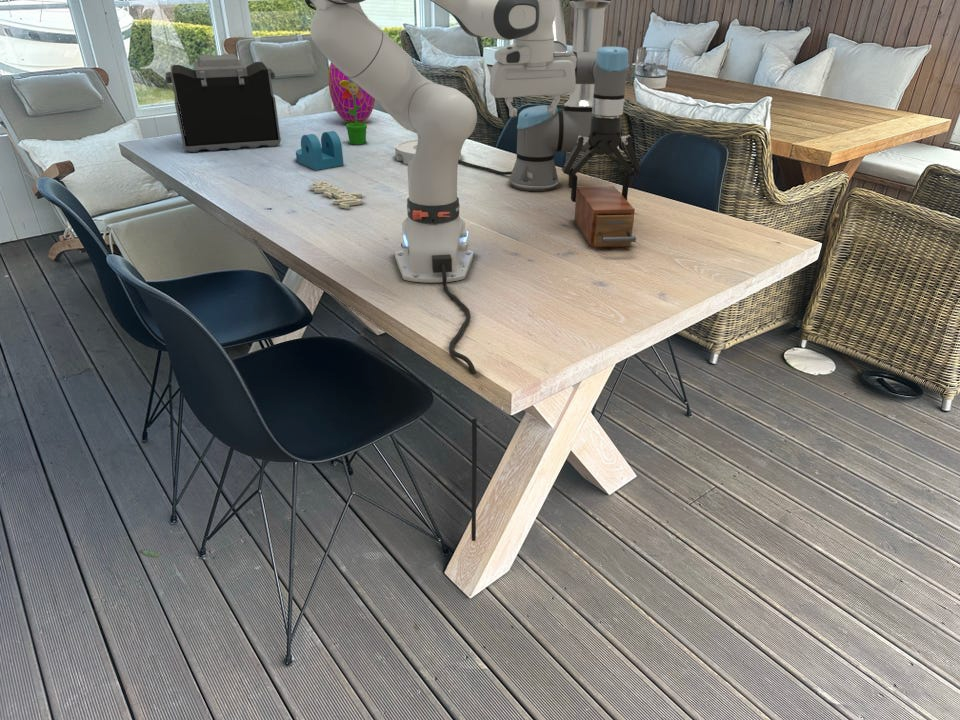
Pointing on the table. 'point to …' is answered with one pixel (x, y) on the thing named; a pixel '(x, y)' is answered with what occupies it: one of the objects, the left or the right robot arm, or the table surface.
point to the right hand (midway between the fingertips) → (598, 200)
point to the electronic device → (225, 104)
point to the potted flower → (354, 113)
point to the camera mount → (320, 151)
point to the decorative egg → (348, 104)
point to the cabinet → (598, 208)
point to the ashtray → (407, 150)
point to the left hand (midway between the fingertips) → (532, 115)
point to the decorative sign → (337, 194)
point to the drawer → (614, 230)
